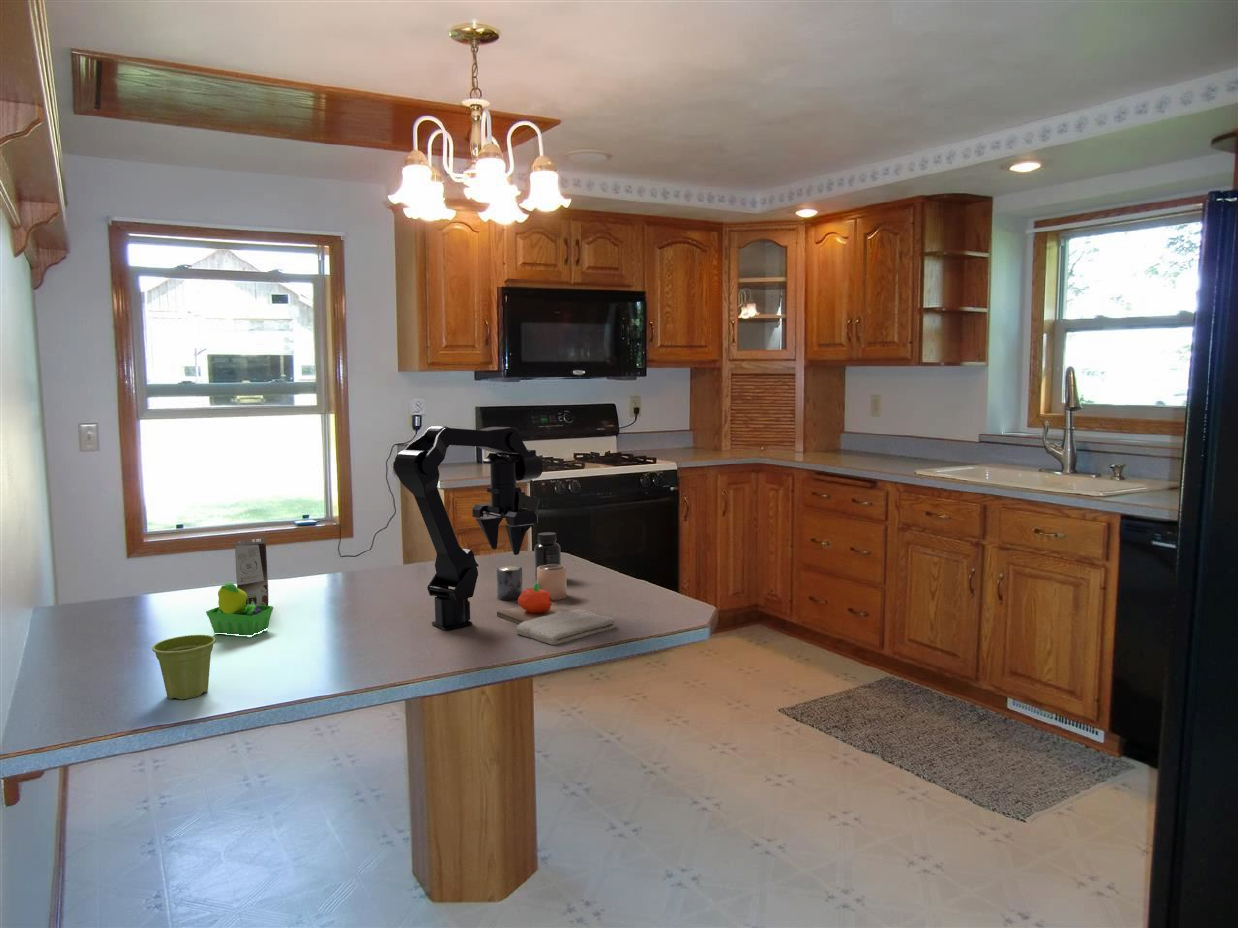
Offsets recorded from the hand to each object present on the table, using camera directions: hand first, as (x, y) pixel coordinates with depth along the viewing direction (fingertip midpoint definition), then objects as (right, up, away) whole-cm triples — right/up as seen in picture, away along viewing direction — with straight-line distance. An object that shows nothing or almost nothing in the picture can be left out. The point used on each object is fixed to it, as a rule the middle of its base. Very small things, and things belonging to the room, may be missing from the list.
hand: (505, 551), depth 193 cm
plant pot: (-46, -19, -51) cm, 71 cm away
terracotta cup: (+10, -12, +12) cm, 19 cm away
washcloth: (+15, -15, -17) cm, 27 cm away
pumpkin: (+7, -13, -6) cm, 16 cm away
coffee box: (-57, -14, +2) cm, 59 cm away
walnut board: (+7, -14, -6) cm, 16 cm away
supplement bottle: (+7, -10, +30) cm, 33 cm away
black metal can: (0, -12, +11) cm, 16 cm away
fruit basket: (-53, -16, -16) cm, 57 cm away
